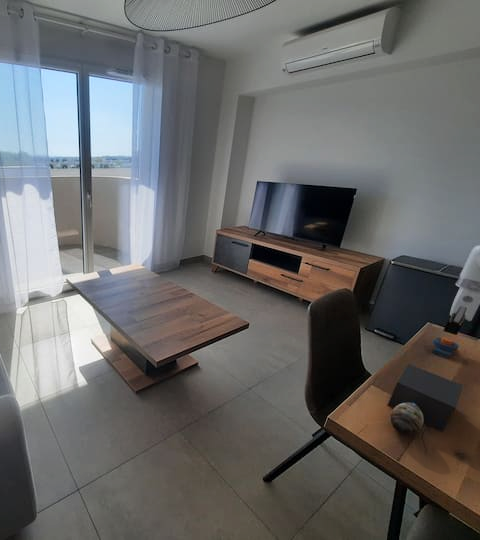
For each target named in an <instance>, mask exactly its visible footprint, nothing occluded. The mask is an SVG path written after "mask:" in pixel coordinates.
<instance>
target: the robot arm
mask: <svg viewBox="0 0 480 540" xmlns="http://www.w3.org/2000/svg"><path fill="white" fill-rule="evenodd" d="M455 286H456V287H458V288H459V289H458V291H457V292H456V295H455V297H454V299H453V301H452V304H451V308H450V312H449V316H450V318H449V319H448V320H447V321H446V324H445V326H444V328H443V332H445V333H448V334H450V335H454V336H457V335H458V334H459V332H460V330H461V328H462V326H463V322H464V321H465V320H466V321H468V322H472V320H473V318H474V316H475V315H476V313H477V310H478V308H479V306H480V244H479V245H476V246H474V247H473V248H472V249H471V251H470V253H469V256H468V257H467V260H466V262H465V264H464V266H463V268H462V270H461V271H460V274H459V276H458V278H457V281H456V282H455Z"/></svg>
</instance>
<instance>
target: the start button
mask: <svg viewBox="0 0 480 540" xmlns="http://www.w3.org/2000/svg"><path fill="white" fill-rule="evenodd" d="M441 338H442V339H441V341H440V342H441V343H443V344H446V345H451V346H452V345H453V343H454V342H455V340H454V339H452V338H450V337H447V336H442V337H441Z"/></svg>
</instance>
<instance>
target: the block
mask: <svg viewBox="0 0 480 540" xmlns="http://www.w3.org/2000/svg"><path fill="white" fill-rule="evenodd" d="M441 339H442V337H435V338H434V339H433V341H432V345H434V346H433V348H432V350H431V354H434V355H437V356H440V357H442V358H445V359H448V360H449V359H450V358H451V357H452V354H453V352H457V351H458V349H459V346H460V345H459V344H458V343H457V342H455V341H454V343H453V345H452V346H451V345H446V344H443V343H441V342H440V341H441Z"/></svg>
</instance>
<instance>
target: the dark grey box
mask: <svg viewBox="0 0 480 540" xmlns="http://www.w3.org/2000/svg"><path fill="white" fill-rule="evenodd" d="M463 386H464V385H463V384H461V383H459V382H456V381H453V380H450V379H448V378H445V377H443V376H440V375H437V374H435V373H432V372H431V371H427V370H425V369H423V368H420V367H417V366H416V365H413V364H411V363H408V364H406V367H405V369H404V370H403V372H402V374H401V375H400V377H399V379H398V380H397V382H396V384H395V387H394V389H393V391H392V393H391V396H390V398H389V400H388V402H387V406H389V407H390V408H392V409H394V408H395V407H396V406H398V405H399V404H402V403H414V404H416V405H417V406H418V408H419V409H420V410H421V412H422V414H423V419H424V422H423V424H425V425H426V426H429V427H431V428H433V429H435V430H437V431H439V432H441V433H443V432H444V430H445V429H446V426H447V425H448V423H449V422H450V420H451V418H452V416H453V414H454V413H455V410H456V409H457V405H458V402H459V399H460V396H461V393H462V389H463Z"/></svg>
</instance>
